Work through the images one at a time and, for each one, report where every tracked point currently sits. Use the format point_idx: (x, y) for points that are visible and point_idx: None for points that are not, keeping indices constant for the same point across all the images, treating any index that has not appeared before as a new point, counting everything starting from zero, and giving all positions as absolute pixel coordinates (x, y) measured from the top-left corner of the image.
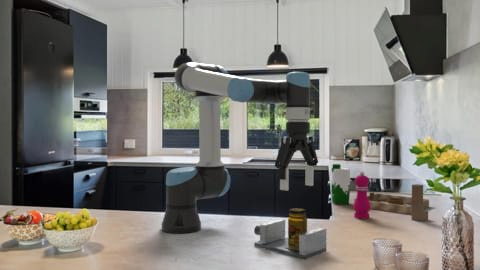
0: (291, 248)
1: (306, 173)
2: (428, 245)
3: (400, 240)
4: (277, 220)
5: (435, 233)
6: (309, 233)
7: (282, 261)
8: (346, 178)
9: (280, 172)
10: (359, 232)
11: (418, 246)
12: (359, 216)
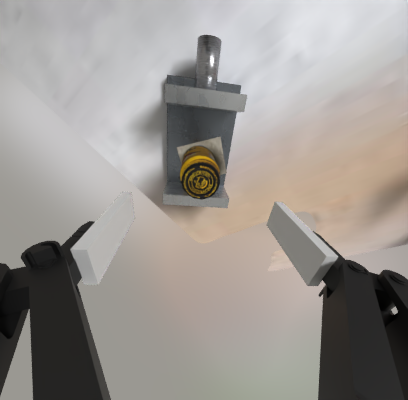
0: (181, 159)
1: (297, 233)
2: None
3: None
4: (227, 97)
5: (359, 253)
6: (179, 203)
7: (139, 169)
8: None
9: (65, 248)
10: (340, 187)
11: None
12: None
